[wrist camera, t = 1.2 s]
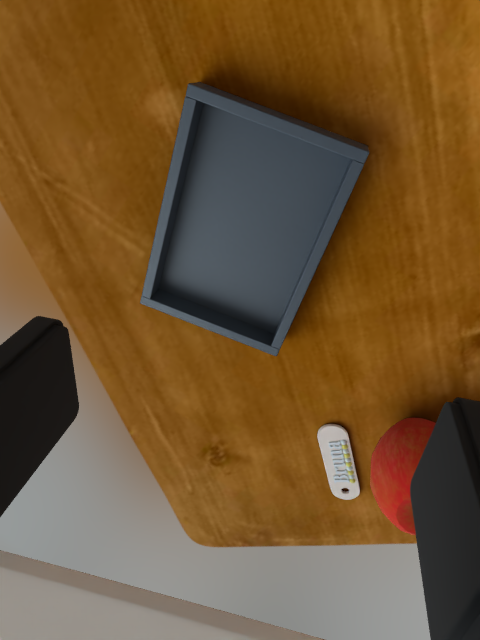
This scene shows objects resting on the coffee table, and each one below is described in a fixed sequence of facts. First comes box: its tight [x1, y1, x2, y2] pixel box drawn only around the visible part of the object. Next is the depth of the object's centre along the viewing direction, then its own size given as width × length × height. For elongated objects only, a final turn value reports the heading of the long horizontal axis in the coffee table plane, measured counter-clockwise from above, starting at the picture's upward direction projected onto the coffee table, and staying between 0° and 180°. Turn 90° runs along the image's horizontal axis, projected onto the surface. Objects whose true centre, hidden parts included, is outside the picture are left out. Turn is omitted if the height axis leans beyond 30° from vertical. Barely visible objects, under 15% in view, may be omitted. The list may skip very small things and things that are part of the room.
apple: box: [370, 418, 436, 535], centre depth 37 cm, size 9×8×11 cm
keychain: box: [318, 424, 360, 500], centre depth 45 cm, size 10×1×3 cm
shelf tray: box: [140, 82, 369, 356], centre depth 34 cm, size 18×13×3 cm
